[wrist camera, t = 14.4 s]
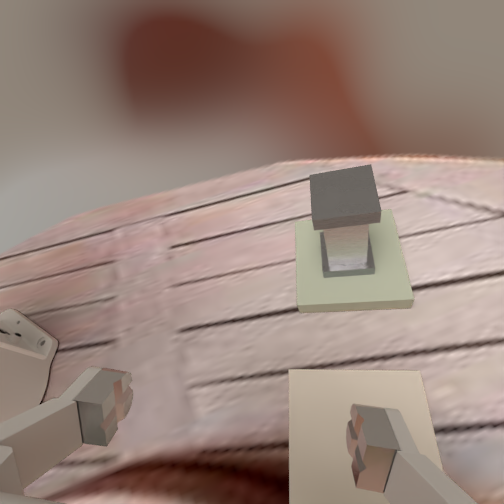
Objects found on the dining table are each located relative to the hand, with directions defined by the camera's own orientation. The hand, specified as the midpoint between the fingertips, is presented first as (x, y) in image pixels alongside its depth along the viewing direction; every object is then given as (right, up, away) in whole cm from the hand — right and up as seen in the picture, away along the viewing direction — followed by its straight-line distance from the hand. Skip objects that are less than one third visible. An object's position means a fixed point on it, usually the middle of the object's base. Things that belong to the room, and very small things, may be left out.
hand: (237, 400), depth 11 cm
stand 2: (+10, -12, +16) cm, 23 cm away
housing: (+12, +5, +24) cm, 27 cm away
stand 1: (+12, +4, +26) cm, 29 cm away
